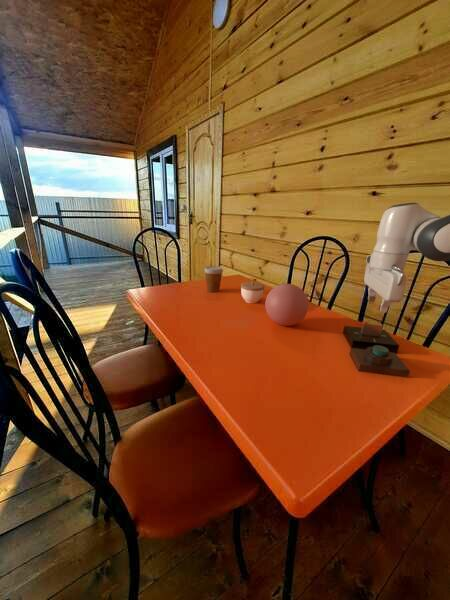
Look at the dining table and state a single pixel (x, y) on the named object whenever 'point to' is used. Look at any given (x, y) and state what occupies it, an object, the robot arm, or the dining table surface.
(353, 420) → the dining table surface
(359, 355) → the button block
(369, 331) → the knob
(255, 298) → the trinket box
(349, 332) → the panel
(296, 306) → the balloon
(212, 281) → the disposable coffee cup
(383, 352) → the button
